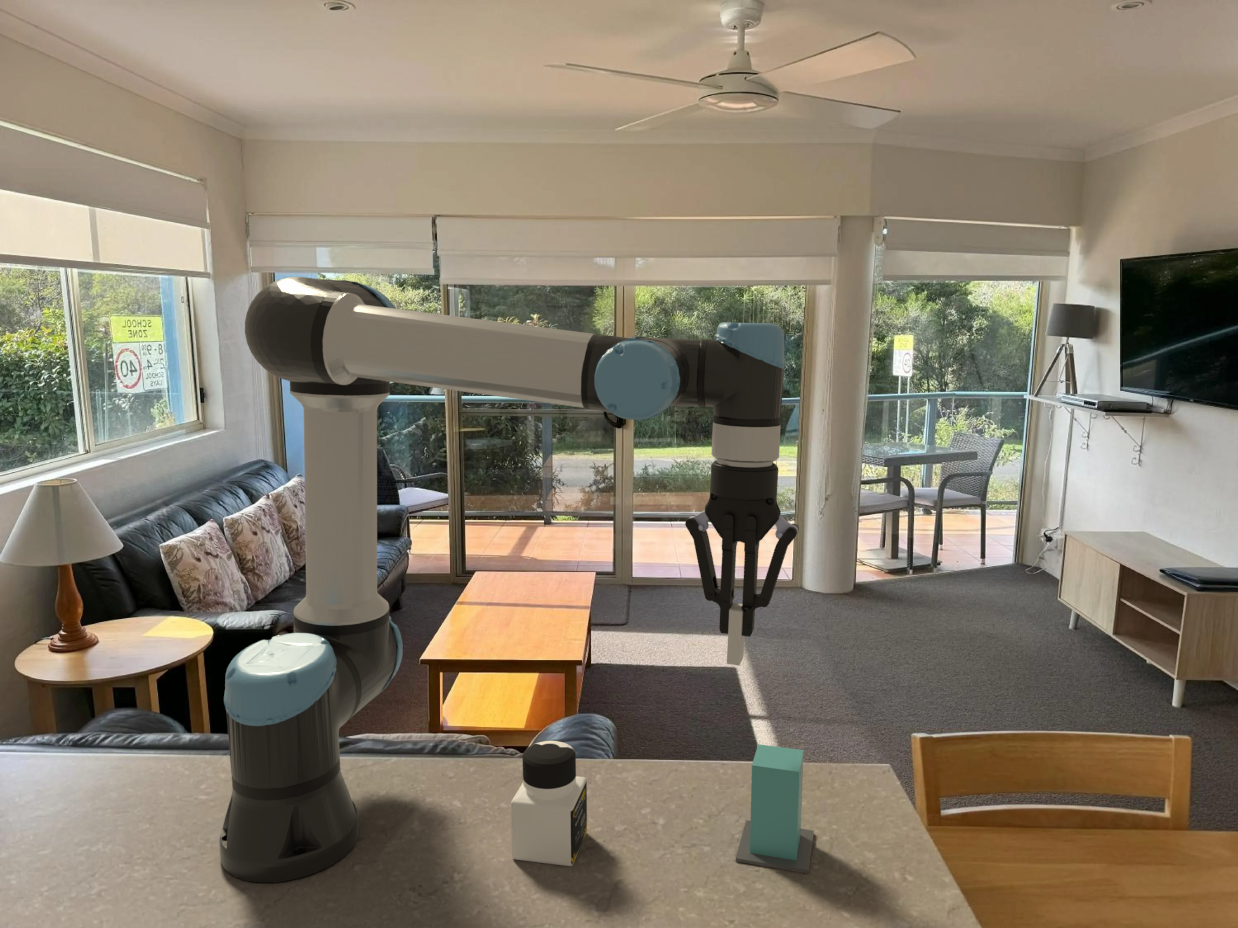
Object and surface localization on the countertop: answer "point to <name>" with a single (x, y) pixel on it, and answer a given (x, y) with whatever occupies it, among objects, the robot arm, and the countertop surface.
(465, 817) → the countertop surface
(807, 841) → the grey square base plate
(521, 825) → the medicine bottle
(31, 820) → the countertop surface
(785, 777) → the tall teal pillar
